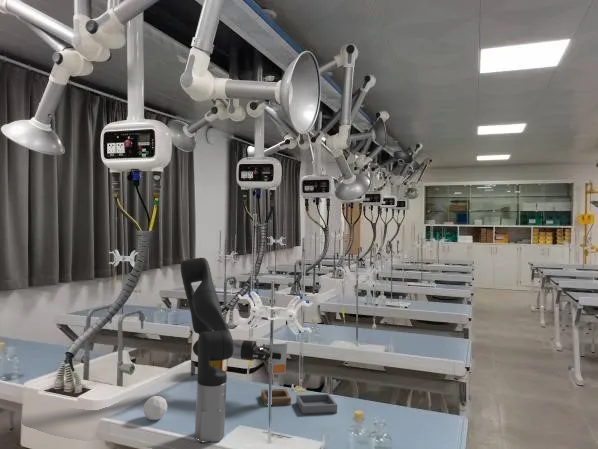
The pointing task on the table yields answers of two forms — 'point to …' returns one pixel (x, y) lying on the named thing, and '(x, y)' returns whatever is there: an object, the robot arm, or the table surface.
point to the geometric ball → (155, 408)
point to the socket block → (277, 397)
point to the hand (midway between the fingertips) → (283, 354)
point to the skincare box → (277, 364)
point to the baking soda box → (219, 364)
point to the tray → (316, 404)
